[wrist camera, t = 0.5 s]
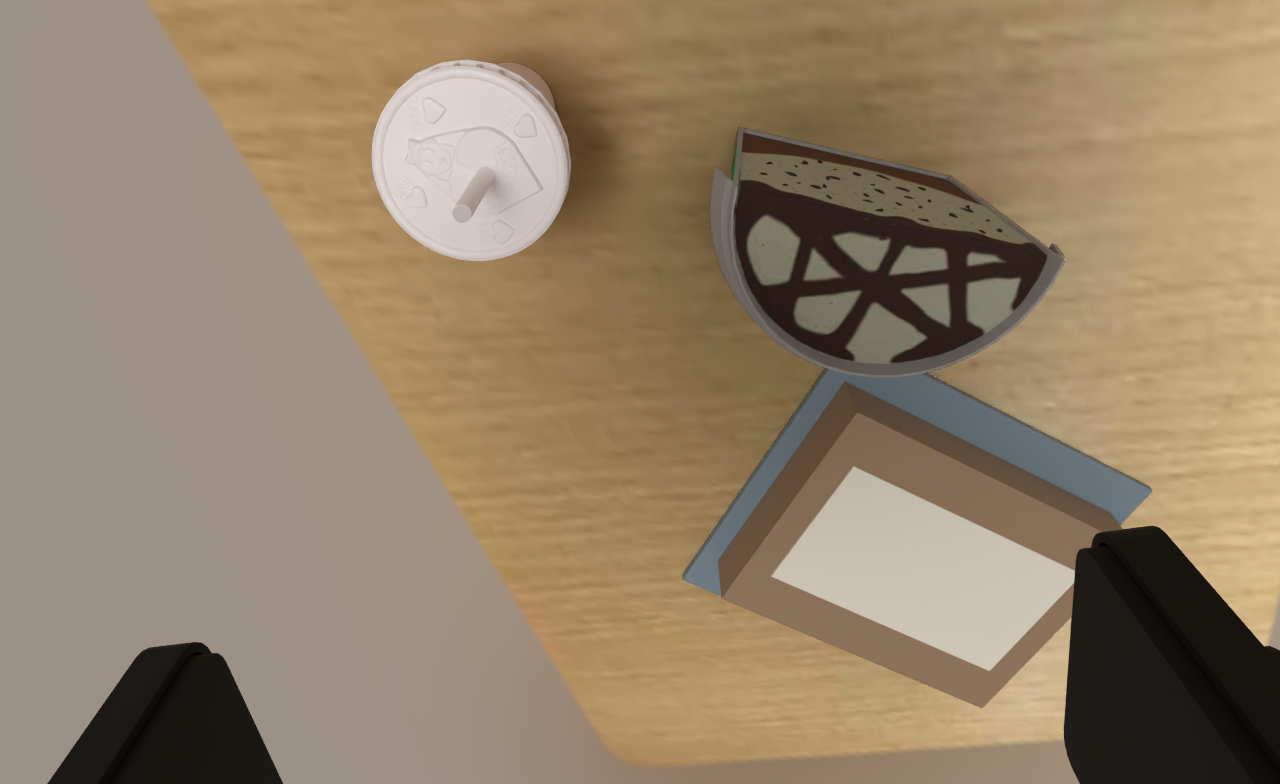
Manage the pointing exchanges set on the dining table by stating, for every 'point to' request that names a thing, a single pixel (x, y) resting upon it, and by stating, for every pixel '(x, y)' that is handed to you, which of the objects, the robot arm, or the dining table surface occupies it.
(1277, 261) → the dining table surface
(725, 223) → the food container
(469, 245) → the smoothie
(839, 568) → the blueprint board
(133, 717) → the robot arm
